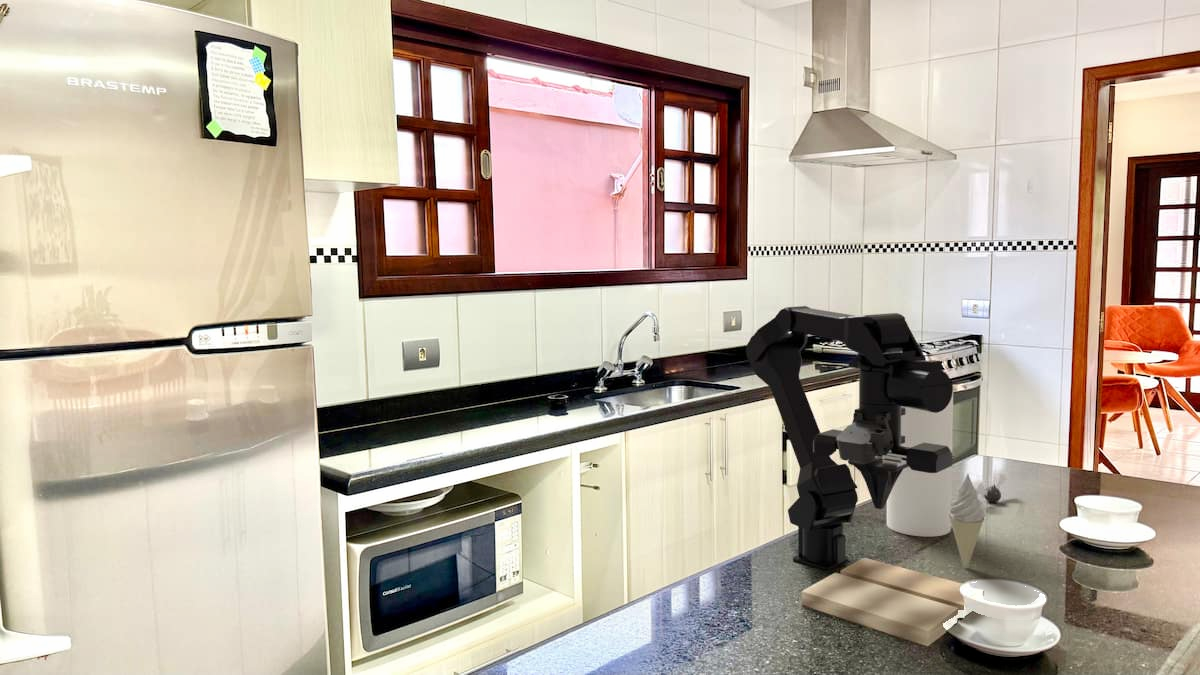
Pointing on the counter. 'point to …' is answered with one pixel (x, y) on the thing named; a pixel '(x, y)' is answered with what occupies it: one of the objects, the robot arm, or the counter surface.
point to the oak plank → (880, 608)
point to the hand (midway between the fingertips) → (879, 508)
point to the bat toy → (992, 490)
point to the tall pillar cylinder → (923, 478)
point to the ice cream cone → (966, 519)
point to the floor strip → (906, 581)
